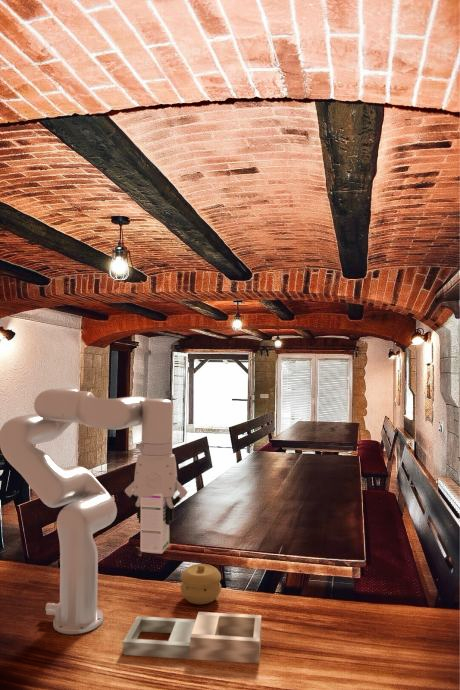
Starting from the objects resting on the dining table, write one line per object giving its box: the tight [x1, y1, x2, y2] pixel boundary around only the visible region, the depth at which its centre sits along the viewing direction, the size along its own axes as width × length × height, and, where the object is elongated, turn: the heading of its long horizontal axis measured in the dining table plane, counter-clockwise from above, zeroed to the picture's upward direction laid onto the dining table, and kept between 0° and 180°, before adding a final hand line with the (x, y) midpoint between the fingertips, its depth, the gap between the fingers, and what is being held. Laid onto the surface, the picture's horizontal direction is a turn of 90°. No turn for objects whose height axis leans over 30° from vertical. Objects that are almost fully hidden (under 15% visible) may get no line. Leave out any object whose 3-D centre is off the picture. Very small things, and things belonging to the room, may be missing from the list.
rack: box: [122, 611, 262, 665], centre depth 125 cm, size 32×12×5 cm, turn 84°
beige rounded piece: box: [180, 563, 222, 605], centre depth 149 cm, size 12×12×10 cm
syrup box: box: [139, 493, 171, 555], centre depth 127 cm, size 6×6×14 cm
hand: (155, 521), depth 127 cm, fingers closed on syrup box, 6 cm apart
